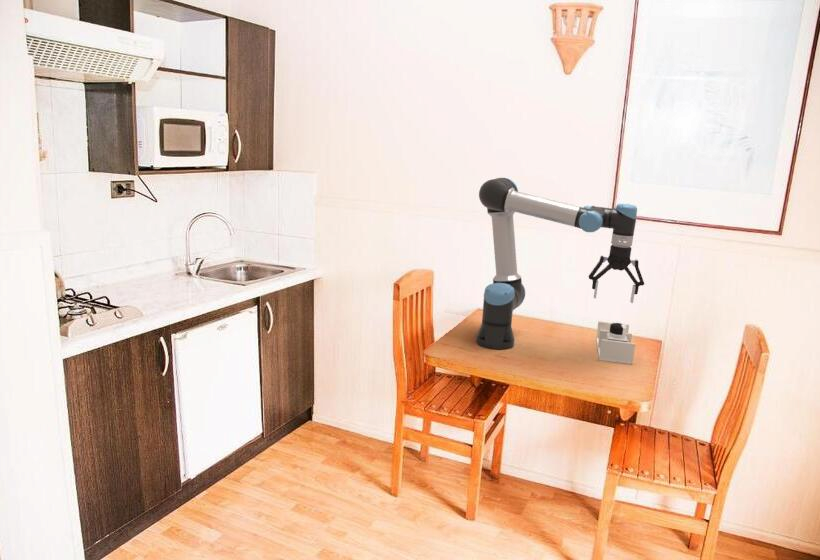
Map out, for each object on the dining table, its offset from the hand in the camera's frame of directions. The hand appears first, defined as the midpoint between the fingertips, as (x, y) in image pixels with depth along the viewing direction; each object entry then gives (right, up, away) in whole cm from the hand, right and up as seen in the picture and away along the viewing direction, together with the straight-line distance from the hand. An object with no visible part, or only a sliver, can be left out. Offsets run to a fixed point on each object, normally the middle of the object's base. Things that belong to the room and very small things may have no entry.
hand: (613, 299), depth 239 cm
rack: (+3, -21, +8) cm, 22 cm away
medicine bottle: (+1, -21, +2) cm, 21 cm away
